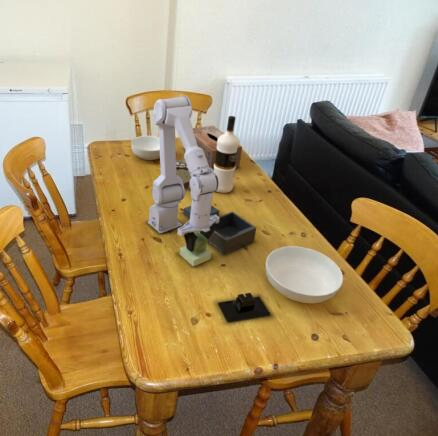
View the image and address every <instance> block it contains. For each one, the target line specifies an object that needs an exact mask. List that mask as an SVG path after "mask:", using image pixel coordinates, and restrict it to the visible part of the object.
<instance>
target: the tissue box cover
mask: <svg viewBox="0 0 438 436" xmlns="http://www.w3.org/2000/svg"><path fill="white" fill-rule="evenodd" d="M192 128H193V131H194V135H195V139H196V143H197V146H198V147H200V148H202V149H203V151H204V154H205V157H206V160H207V162H208V165H209V168H212V170H213V171H214V164H215V159H216V151H217V140H218V138H219V137H220V136H221V135H223V134H225V132H223V131H221V130H220V129H219V128H218V127H216V126H215V125H209V126H208V125H207V126H199V127H192ZM183 148H184V147H183ZM184 150H185V148H184ZM242 150H243V146H242V145H241V144H239V147H238V152H237V158H236V164H235V167H236V168H235V169H239V168H240V163H241V157H242V152H243V151H242Z"/></svg>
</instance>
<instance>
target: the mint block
mask: <svg viewBox="0 0 438 436" xmlns="http://www.w3.org/2000/svg"><path fill="white" fill-rule="evenodd" d="M179 255H180V256H181V257H182V258H183V259H184V260H186V262H188V264H189V265H191V266H192V267H196V266H198V265H201V264H203V263H205V262H207V261H209V260H211V259H212V252H211V251H210V250H209V249H208V248H206V251H204V252H202V253H199V254H197V255H194V254H193V253H192V252H190V251H189V250H188V249H187V248H186V245H184V246H183V247H180V248H179Z"/></svg>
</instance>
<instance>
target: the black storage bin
mask: <svg viewBox="0 0 438 436" xmlns="http://www.w3.org/2000/svg"><path fill="white" fill-rule="evenodd" d="M218 217H219V223H213V226H214V227H215V231H214V232H213V233H212V235H211V236H210V237H209V239H208V241H207V244H209V245H210V246H211V247H213V248H214V249H215V250H217V251H218V252H219V253H221V255H223V256H224V255H225V256H226V255H227V254H229V253H231V252H234V251H236V250H239V249H240V248H242V247H245V246H248V245H250V244H253V243H254V242H255V237H256V232H257V227H256V226H255V225H253V224H252V223H250V222H249V221H248V220H246V219H245V218H243V217H242V216H240V215H239V214H237V213H236V212H234V211H230V212H227V213H224V214H221V215H219V216H218Z"/></svg>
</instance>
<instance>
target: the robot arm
mask: <svg viewBox="0 0 438 436" xmlns="http://www.w3.org/2000/svg"><path fill="white" fill-rule="evenodd" d="M192 115H193V105H192V102H191V99H190V98H189V97H188V96H187V95H184V96H178V97H171V98H159V99H157V100H156V101H155V103H154V105H153V117H154V119H153V120H154V125H155V126H158V137H159V146H160V158H159V163H160V164H159V165H160V166H159V167H160V175H158V177H157V178H156V179H154V180H153V182H152V183H153V185H152V192H151V194H152V199H153V201H154V204H152V205H151V206H150V207H149V211H148V212H149V214H148V221H147V224H148V225H149V226H151V227H152V228H153V229H154V230H155V231H157V232H158V233H159V234H163V233H166V232H168V231H172V230H174V229H177V232H176V233H177V234H176V235H178V236H179V237H180V238H184V241H185V246H186V245H187V249H188V250H189V251H190V252H192V251H193V249H194V244H195V241H196V239H197V238H198V237H197V236H196V235H195V233H196V232H199V233H201V234H202V235H203V236H205V237H206V238H207V239H209V237H210V236H211V235H212V233H213V232H214V231H215V227H214V226H213V223H219V216H217V215H212V216H210V212H211V205H212V204H213V197H214V192H216V190H217V189H218V187H219V180H218V176H217V174H216V173H215V172H214V171H213V170H212V168H209V165H208V162H207V160H206V157H205V154H204V151H203V149H202V148H200V147H198V146H197V143H196V139H195V135H194V131H193V128H194V127H193V125H192V120H191V119H192ZM176 132H177V134H178V137H179V139H180V141H181V143H182V146H183V148H185V149H184V150H185V152H184V154H183V158H184V161H186V164H187V167H188V170H189V173H190V176H191V180H190V187H189V189H190V197H191V205H190V206H191V213H190V218H189V220H188V221H187V222H185V223H184V224H182V223H181V222H180V221H179V220H178V216H179V215H178V214H179V204H181V202H182V201H183V200H184V199H185V196H186V190H185V189H184V185H183V180H182V179H181V178H180V177H179V176H177V175H176V160H177V158H176V157H177V156H176V154H177V153H176ZM212 206H213V205H212Z"/></svg>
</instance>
